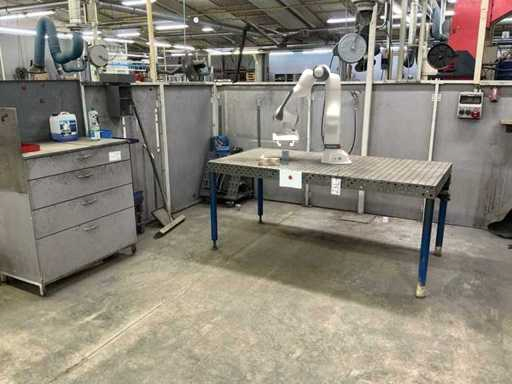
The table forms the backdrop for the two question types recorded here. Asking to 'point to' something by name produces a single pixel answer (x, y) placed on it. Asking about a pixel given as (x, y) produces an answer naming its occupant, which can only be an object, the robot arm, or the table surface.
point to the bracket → (285, 157)
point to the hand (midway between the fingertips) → (285, 146)
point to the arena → (269, 161)
